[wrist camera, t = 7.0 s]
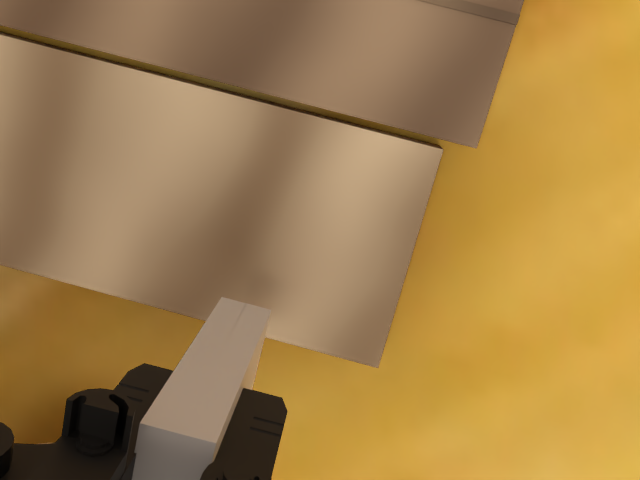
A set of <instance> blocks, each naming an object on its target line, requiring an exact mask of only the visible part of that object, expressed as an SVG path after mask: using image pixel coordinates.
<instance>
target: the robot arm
mask: <svg viewBox="0 0 640 480" xmlns="http://www.w3.org/2000/svg"><path fill="white" fill-rule="evenodd" d="M270 314H271V310H270V309H266V308H262V307H259V306H255V305H251V304H247V303H243V302H239V301H235V300H232V299H228V298H224V297H221V299H220V300H219V302H218V303H217V305H216V307H215V308H214V310H213V311H212V313H211V314H210V316H209V317H208V319H207V320H206V322H205V324H204V325H203V327H202V328H201V330H200V331H199V333H198V334H197V336H196V337H195V339H194V340H193V342H192V344H191V345H190V347H189V348H188V350H187V351H186V353H185V354H184V356H183V357H182V359H181V360H180V362H179V364H178V365H177V367H176V368H175V370H174V371H172V370H168V369H164V368H160V367H157V366H153V365H149V364H145V363H144V364H142V365H140V366H138V367H136V368H134V369H132V370H130V371H128V372H127V374H126V375H125V376H124V378H123V379H122V380H121V381H120V383H119V385H117V386H116V388H115V389H114V390H108V389H101V388H100V389H87V390H84V391H81V392H77V393H75V394H73V395H72V396H71V397H69V398H68V399H67V401H66V408H65V415H64V423H63V430H62V436H61V437H60V438H59V439H58V440H57V442H55V443H50V444H17V443H14V435H13V433H12V430H11V429H10V428H9V427H7V426H6V425H5V424H3V423H1V422H0V480H271V476H272V472H273V468H274V464H275V460H276V455H277V451H278V447H279V443H280V439H281V435H282V431H283V427H284V423H285V419H286V415H287V409H286V407H285V404H284V402H283V399H282V398H281V397H277V396H273V395H269V394H265V393H262V392H258V391H254V390H252V389H253V385H254V380H255V376H256V372H257V368H258V364H259V360H260V355H261V351H262V347H263V343H264V339H265V334H266V330H267V326H268V322H269V318H270Z"/></svg>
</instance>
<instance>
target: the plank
mask: <svg viewBox="0 0 640 480" xmlns="http://www.w3.org/2000/svg"><path fill="white" fill-rule="evenodd" d="M442 153H443V149H442V148H441V147H440V146H439V145H436V144H432V143H428V142H424V141H420V140H416V139H412V138H409V137H405V136H401V135H397V134H393V133H389V132H385V131H382V130H378V129H374V128H370V127H366V126H362V125H358V124H355V123H351V122H347V121H343V120H339V119H335V118H331V117H328V116H324V115H320V114H316V113H312V112H308V111H304V110H301V109H297V108H293V107H289V106H285V105H281V104H277V103H274V102H270V101H266V100H262V99H258V98H254V97H250V96H247V95H243V94H239V93H235V92H231V91H227V90H223V89H220V88H216V87H212V86H208V85H204V84H200V83H196V82H192V81H189V80H185V79H181V78H177V77H173V76H169V75H165V74H162V73H158V72H154V71H150V70H146V69H142V68H138V67H135V66H131V65H127V64H123V63H119V62H115V61H111V60H108V59H104V58H100V57H96V56H92V55H88V54H84V53H81V52H77V51H73V50H69V49H65V48H61V47H57V46H54V45H50V44H46V43H42V42H38V41H34V40H30V39H27V38H23V37H19V36H15V35H11V34H7V33H3V32H0V265H3V266H6V267H10V268H14V269H17V270H21V271H25V272H28V273H32V274H36V275H39V276H43V277H47V278H50V279H54V280H58V281H61V282H65V283H68V284H72V285H76V286H79V287H83V288H87V289H90V290H94V291H98V292H101V293H105V294H109V295H112V296H116V297H120V298H123V299H127V300H131V301H134V302H138V303H142V304H145V305H149V306H153V307H156V308H160V309H164V310H167V311H171V312H175V313H178V314H182V315H186V316H189V317H193V318H196V319H200V320H204V321H206V320H207V319H208V317H209V316H210V314H211V313H212V311H213V310H214V308H215V307H216V305H217V303H218V302H219V300H220V299H221V297H224V298H228V299H232V300H235V301H239V302H243V303H247V304H251V305H255V306H259V307H262V308H266V309H270V310H271V314H270V318H269V322H268V326H267V330H266V334H265V337H266V338H270V339H273V340H277V341H281V342H284V343H288V344H292V345H295V346H299V347H303V348H306V349H310V350H314V351H317V352H321V353H324V354H328V355H332V356H335V357H339V358H343V359H346V360H350V361H354V362H357V363H361V364H365V365H368V366H372V367H376V368H378V367H379V363H380V360H381V357H382V353H383V350H384V347H385V343H386V340H387V337H388V333H389V330H390V327H391V323H392V320H393V317H394V313H395V310H396V307H397V303H398V300H399V297H400V293H401V290H402V287H403V283H404V280H405V276H406V273H407V270H408V266H409V263H410V260H411V256H412V253H413V250H414V246H415V243H416V240H417V236H418V233H419V230H420V226H421V223H422V220H423V216H424V213H425V210H426V206H427V203H428V200H429V196H430V193H431V190H432V186H433V183H434V180H435V176H436V173H437V170H438V166H439V163H440V160H441V156H442Z"/></svg>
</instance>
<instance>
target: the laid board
mask: <svg viewBox="0 0 640 480" xmlns="http://www.w3.org/2000/svg"><path fill="white" fill-rule="evenodd" d="M523 2H524V0H0V25H1V26H5V27H9V28H13V29H17V30H21V31H25V32H28V33H32V34H36V35H40V36H44V37H48V38H52V39H55V40H59V41H63V42H67V43H71V44H75V45H79V46H82V47H86V48H90V49H94V50H98V51H102V52H106V53H110V54H113V55H117V56H121V57H125V58H129V59H133V60H137V61H140V62H144V63H148V64H152V65H156V66H160V67H164V68H168V69H171V70H175V71H179V72H183V73H187V74H191V75H195V76H198V77H202V78H206V79H210V80H214V81H218V82H222V83H226V84H229V85H233V86H237V87H241V88H245V89H249V90H253V91H256V92H260V93H264V94H268V95H272V96H276V97H280V98H284V99H287V100H291V101H295V102H299V103H303V104H307V105H311V106H314V107H318V108H322V109H326V110H330V111H334V112H338V113H341V114H345V115H349V116H353V117H357V118H361V119H365V120H369V121H372V122H376V123H380V124H384V125H388V126H392V127H396V128H399V129H403V130H407V131H411V132H415V133H419V134H423V135H427V136H430V137H434V138H438V139H442V140H446V141H450V142H454V143H457V144H461V145H465V146H469V147H473V148H477V146H478V142H479V139H480V136H481V133H482V130H483V127H484V124H485V121H486V117H487V114H488V111H489V108H490V105H491V102H492V99H493V96H494V92H495V89H496V86H497V83H498V80H499V77H500V74H501V71H502V67H503V64H504V61H505V58H506V55H507V52H508V49H509V46H510V42H511V39H512V36H513V33H514V30H515V27H516V25H517V22H518V19H519V16H520V11H521V8H522V5H523Z"/></svg>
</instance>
